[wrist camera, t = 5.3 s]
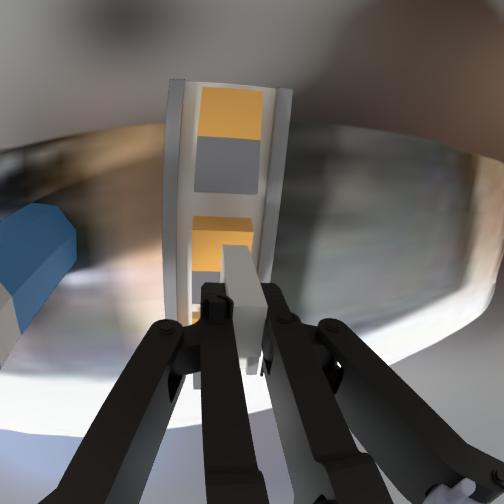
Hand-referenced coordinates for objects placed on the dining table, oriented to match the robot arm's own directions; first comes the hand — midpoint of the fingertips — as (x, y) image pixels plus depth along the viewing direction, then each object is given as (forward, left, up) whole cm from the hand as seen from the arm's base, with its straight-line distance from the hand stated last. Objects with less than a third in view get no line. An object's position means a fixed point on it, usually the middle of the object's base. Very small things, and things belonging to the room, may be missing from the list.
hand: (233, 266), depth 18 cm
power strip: (0, -3, -13) cm, 14 cm away
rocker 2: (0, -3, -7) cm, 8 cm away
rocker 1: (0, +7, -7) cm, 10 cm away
